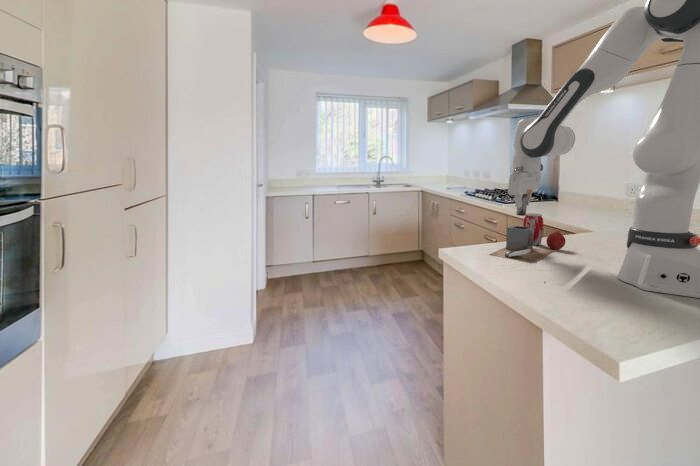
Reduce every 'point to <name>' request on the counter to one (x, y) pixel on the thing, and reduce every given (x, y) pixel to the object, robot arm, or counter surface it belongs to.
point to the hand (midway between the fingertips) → (522, 206)
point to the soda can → (534, 226)
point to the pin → (522, 210)
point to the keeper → (517, 253)
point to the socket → (519, 238)
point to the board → (524, 255)
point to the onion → (556, 240)
